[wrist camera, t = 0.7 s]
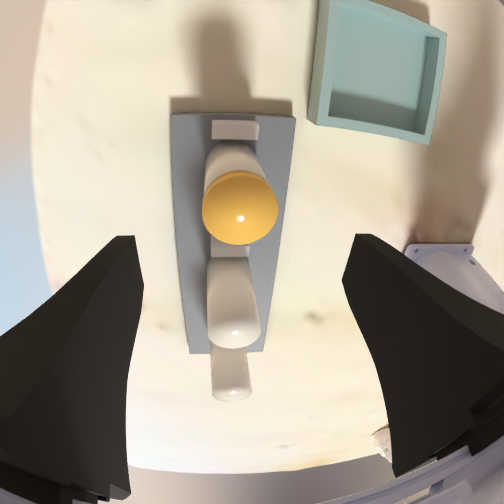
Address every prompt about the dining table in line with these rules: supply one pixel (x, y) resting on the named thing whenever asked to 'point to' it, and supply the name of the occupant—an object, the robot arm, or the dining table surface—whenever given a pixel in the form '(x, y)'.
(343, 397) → the dining table surface
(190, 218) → the fuse panel
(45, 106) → the dining table surface
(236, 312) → the fuse middle
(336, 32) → the tray
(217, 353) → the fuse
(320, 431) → the dining table surface
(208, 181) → the cylinder
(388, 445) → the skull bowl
